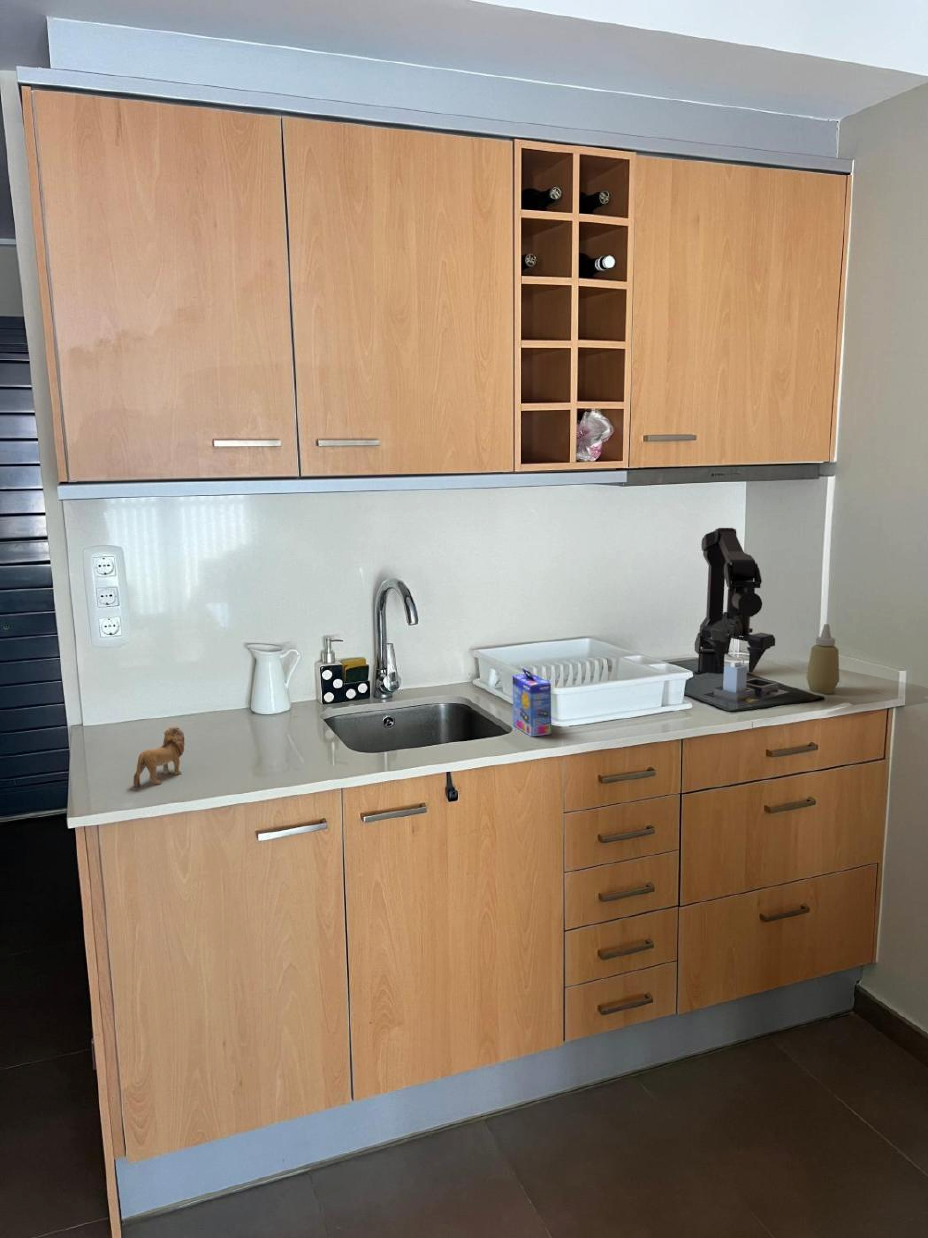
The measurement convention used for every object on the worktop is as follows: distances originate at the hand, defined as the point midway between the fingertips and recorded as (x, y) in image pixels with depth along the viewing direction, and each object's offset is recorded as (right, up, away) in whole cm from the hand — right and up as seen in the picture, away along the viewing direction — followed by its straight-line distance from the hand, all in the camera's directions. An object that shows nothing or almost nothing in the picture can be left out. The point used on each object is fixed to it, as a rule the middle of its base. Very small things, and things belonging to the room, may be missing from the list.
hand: (735, 669), depth 238 cm
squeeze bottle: (+25, -7, +9) cm, 28 cm away
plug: (0, -7, +1) cm, 7 cm away
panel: (+4, -7, +4) cm, 10 cm away
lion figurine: (-129, -19, -51) cm, 140 cm away
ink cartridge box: (-53, -13, -22) cm, 59 cm away
